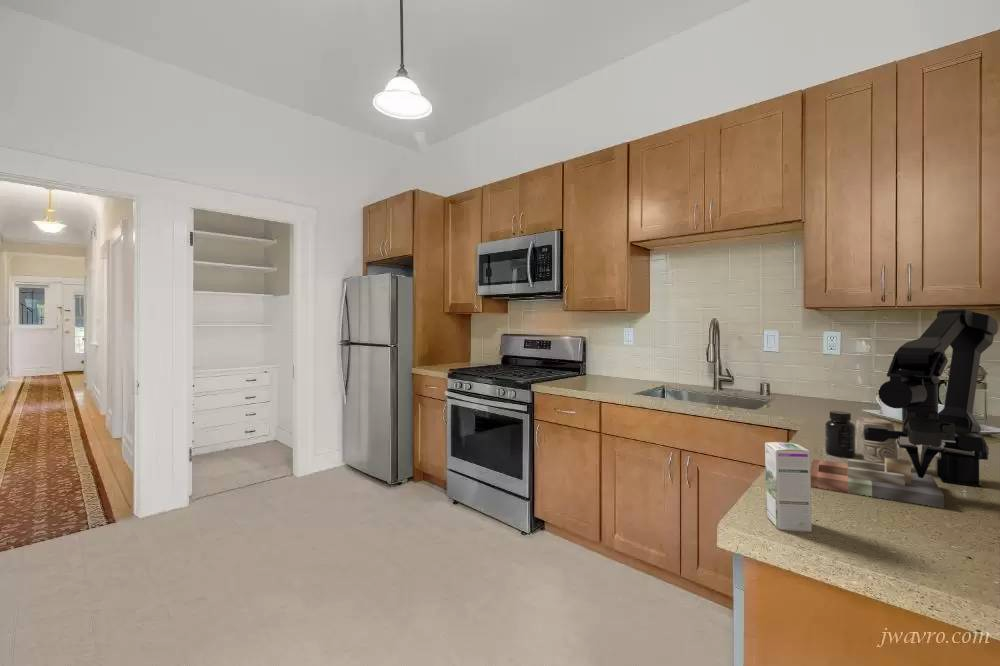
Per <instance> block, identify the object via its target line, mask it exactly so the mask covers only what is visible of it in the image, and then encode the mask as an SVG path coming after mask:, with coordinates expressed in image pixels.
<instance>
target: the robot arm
mask: <svg viewBox="0 0 1000 666" xmlns="http://www.w3.org/2000/svg"><path fill="white" fill-rule="evenodd" d="M998 331H999V324H998V321H997V319H995V318H994V317H993V316H990V315H989V314H985V313H984V314H983V313H979V312H974V311H972V310H971V309H967V308H946V309H942V310H939V311H938V312H937V313H936V317H935V319H933V321H932V322H931V324H929V326H928V327H927V328H926V330H924V331H923V333H922V334H921V336H920V337H918V338H917V339H914V340H910V341H907V342H905V343H904V344H902V345H901V346H900V347H898V349H897V350H896V351H895V352H894V354H893V357H892V360H891V363H890V365H889V368H888V371H887V373H886V376H887V377H888V378H889V380H888V381H885V382H884V383H882V385H880V387H879V390H878V392H877V393H878V398H879V399H880V401H881V402H882V403H883V404H884V405H886V407H888V408H892V409H901V423H902V424H901V430H888V429H887V427H886V426H882V425H870V424H866V425H865V426H864V438H865V440H868V441H877V442H884V441H886V440H887V439H888V438H890V439H896V443H897V447H899V448H902V449H905V450H906V452H907V454H908V456H909V458H910V460H911V462H912V464H913V467H914V470H915V473H917V475H918V477H919V478H923V477H924V475H925V474H927V473H926V472H927V471H928V469H929V467H930V464H931V462H932V461H933V459H934V458H935V475H936V476H937V477H938V478H939V480H940V481H941V482H944V483H951V484H958V485H964V486H973V487H980V488H981V487H982V483H981V482H980V460H982V461H983V460H987V461H988V460H989V454H990V452H989V450H990V448H989V446H988V444H987V442H986V440H985V439H984V436H983V434H982V433H981V432H982V431H981V430H982V429H981V427H982V426H981V425H980V424H979V421H977V419H976V418H975V416H974V414H973V413H974V406H975V405H974V404H975V399H976V398H975V397H976V390H977V383H978V376H979V369H980V362H981V354H982V353H983V352H985V351H986V350H987V349H988V348H989V347H990V346H992V345H993V342H994V339H995V338H994V337H995V335H997V333H998ZM949 346H950V347H951V349H952V350H951V351H952V352H951V360H950V365H949V373H948V379H947V384H946V385H947V387H946V393H945V399H944V406H943V408H942V409H941V410H940V411H939V383H941V380H940V378H939V377H941V376H942V374H943V372H944V370H945V368H946V366H947V365H948V362H949V361H948V357H947V355H946V353H945V352H946V350H947V349H948V348H949ZM918 446H921V454H920V457H919V448H918ZM937 454H938V456H937Z"/></svg>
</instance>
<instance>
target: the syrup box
mask: <svg viewBox="0 0 1000 666" xmlns="http://www.w3.org/2000/svg"><path fill="white" fill-rule="evenodd" d="M764 448H765V449H764V454H765V455H764V459H765V461H764V462H765V463H764V465H765V467H764V468H765V506H766V507H765V510H766V512H765V513H766V515H765V516H766V518H767V519H768V520H769V521H770V523H772V524H773V525H774V526H775V527H774V528H776V529H777V530H781V531H787V532H788V531H789V532H790V531H791V532H806V533H807V532H809V533H810V532H811V533H812V527H813V526H812V523H813V522H812V487H811V477H810V470H811V451H810V450H809V449H806V448H805V447H803V446H801V445H800V444H798V443H795V442H786V441H785V442H784V441H774V442H772V441H769V442H767V441H765V443H764Z"/></svg>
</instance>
